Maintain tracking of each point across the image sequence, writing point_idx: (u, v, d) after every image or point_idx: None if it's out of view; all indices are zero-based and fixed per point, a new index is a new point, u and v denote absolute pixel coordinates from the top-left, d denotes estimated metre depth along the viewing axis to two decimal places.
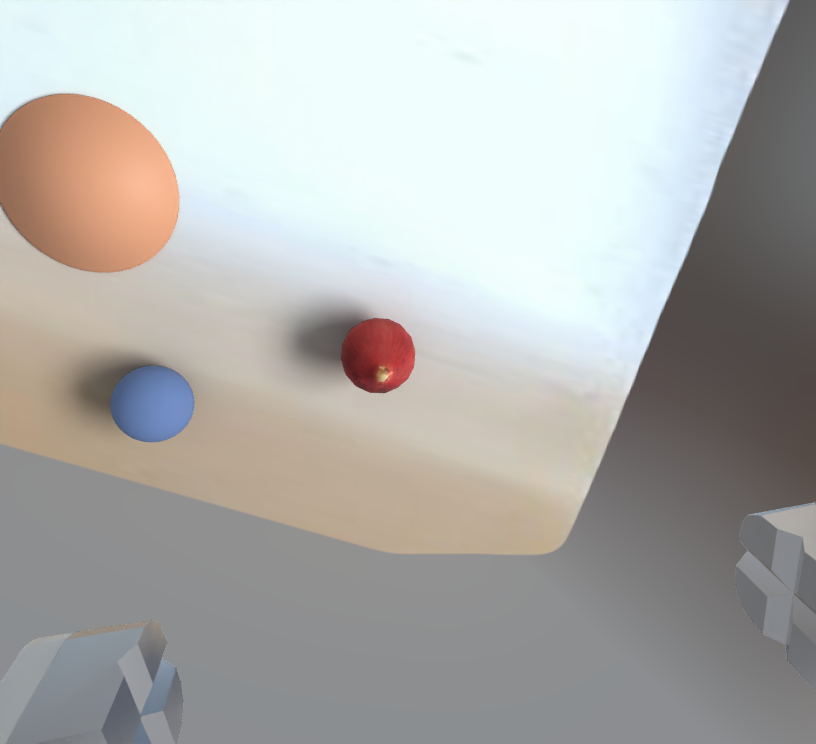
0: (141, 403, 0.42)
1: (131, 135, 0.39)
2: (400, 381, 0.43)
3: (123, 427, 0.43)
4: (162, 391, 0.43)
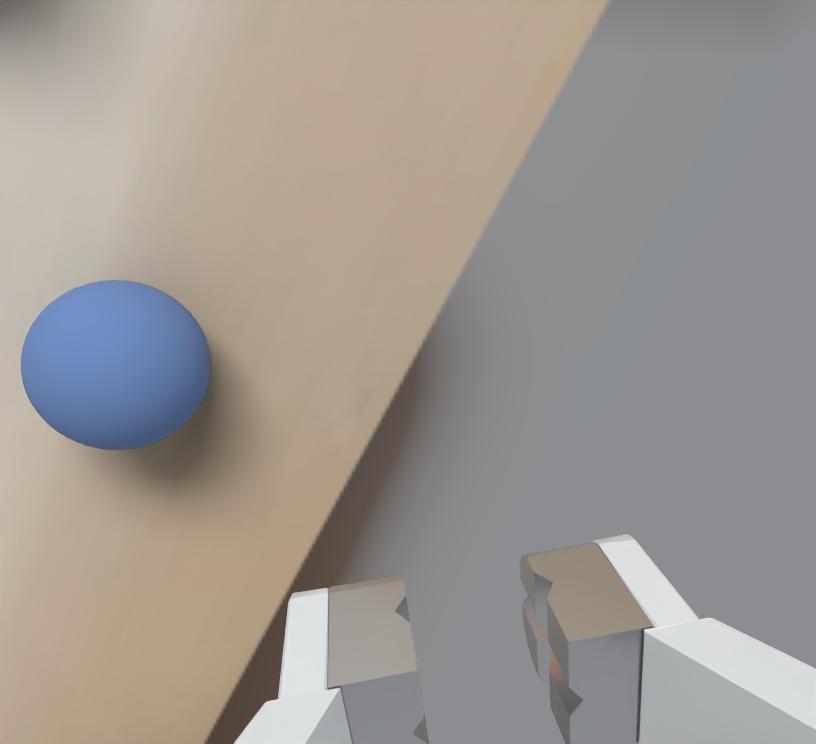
0: (43, 391, 0.18)
1: None
2: None
3: (122, 436, 0.19)
4: (31, 342, 0.18)
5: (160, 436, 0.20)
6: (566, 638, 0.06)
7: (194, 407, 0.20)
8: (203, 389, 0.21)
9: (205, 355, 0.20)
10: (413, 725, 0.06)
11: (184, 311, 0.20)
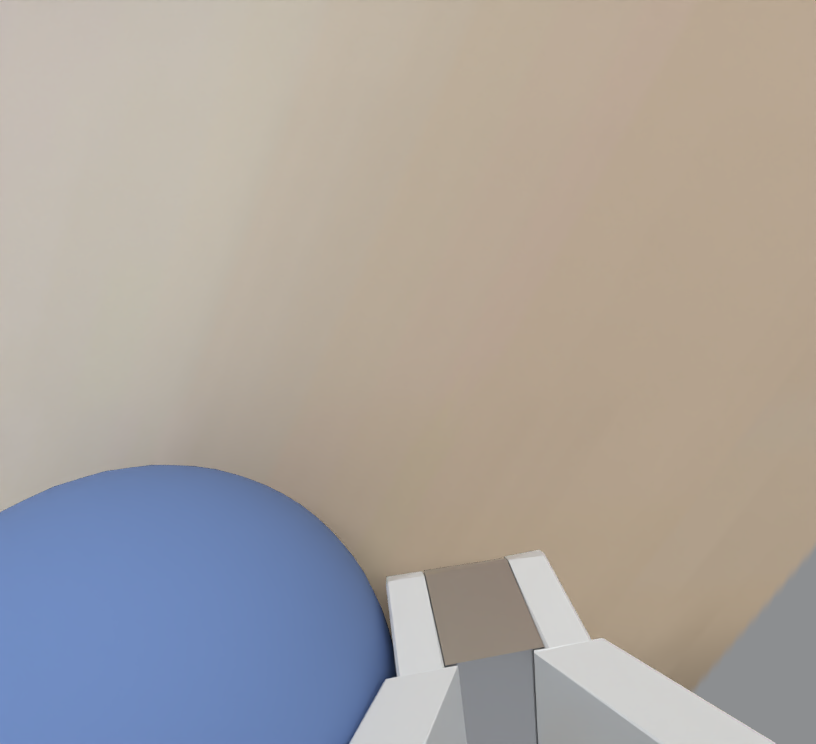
0: None
1: None
2: None
3: None
4: None
5: None
6: (455, 659, 0.06)
7: None
8: None
9: None
10: (522, 704, 0.06)
11: (342, 639, 0.06)
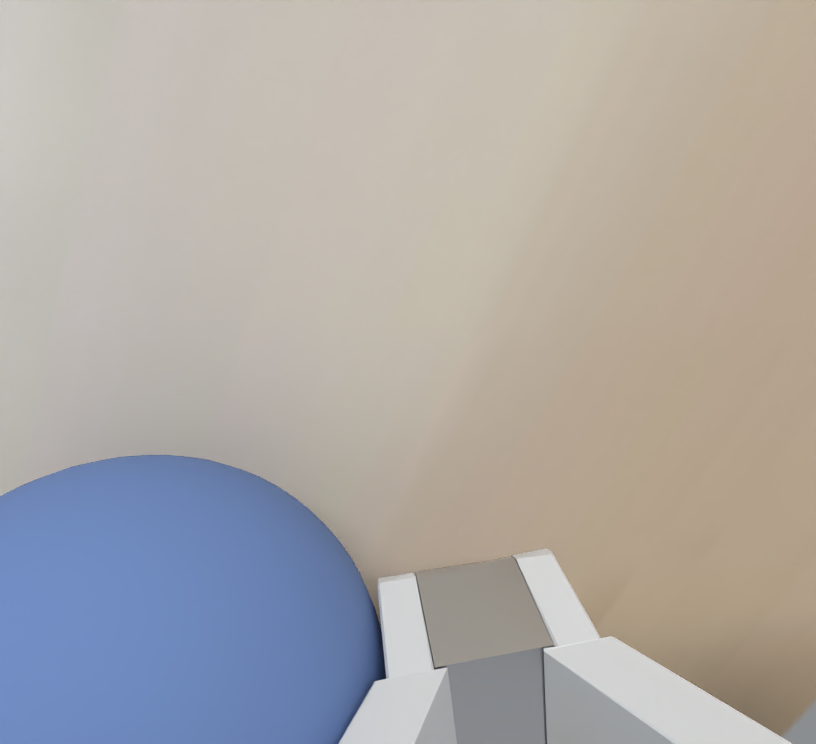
0: None
1: None
2: None
3: None
4: None
5: None
6: (465, 657, 0.06)
7: None
8: None
9: None
10: (512, 706, 0.06)
11: (320, 662, 0.06)
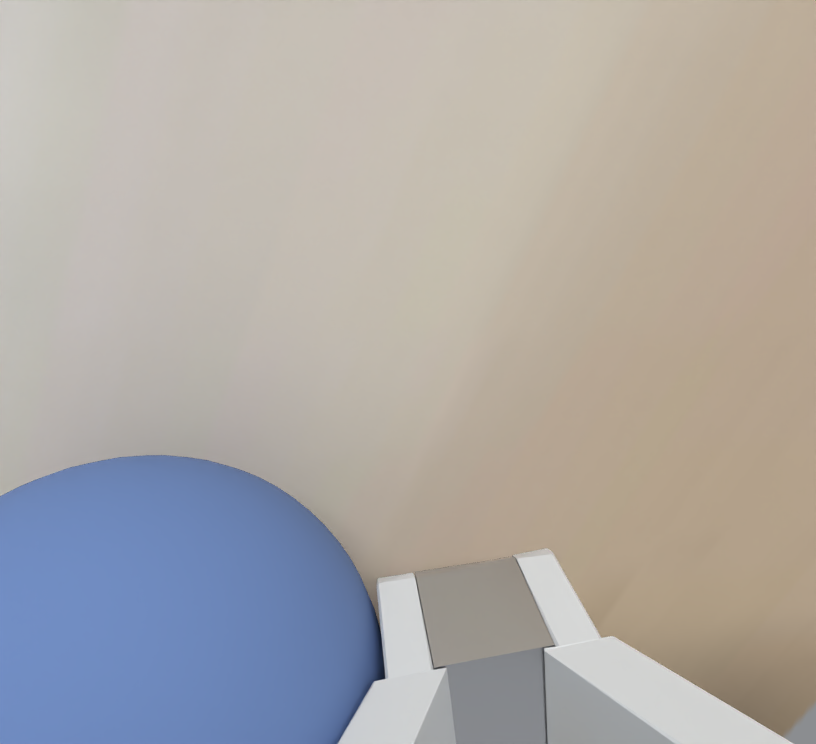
0: None
1: None
2: None
3: None
4: None
5: None
6: (465, 657, 0.06)
7: None
8: None
9: None
10: (512, 706, 0.06)
11: (320, 662, 0.06)
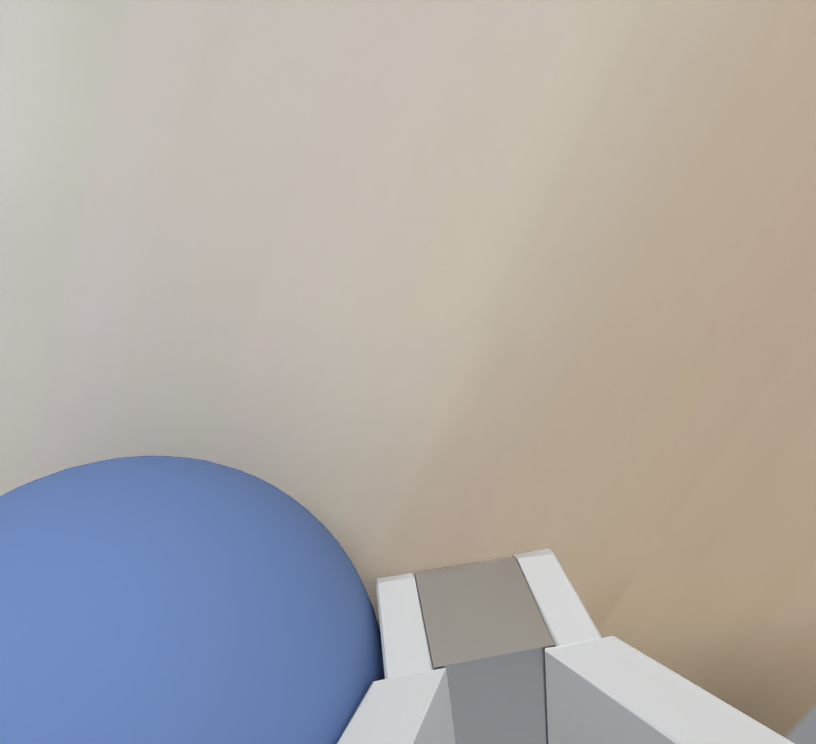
0: None
1: None
2: None
3: None
4: None
5: None
6: (466, 656, 0.06)
7: None
8: None
9: None
10: (511, 706, 0.06)
11: (320, 663, 0.06)
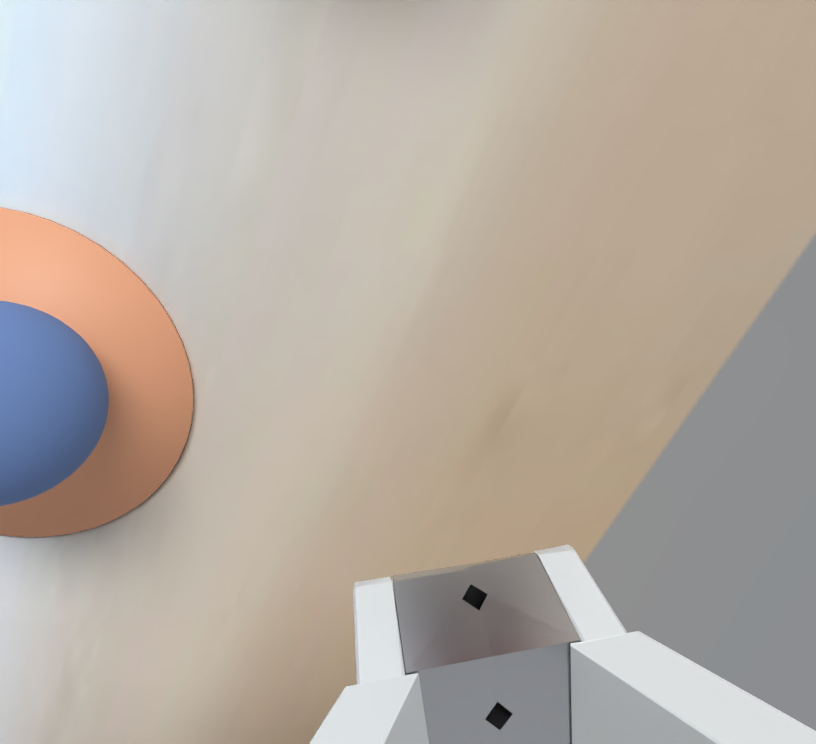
0: None
1: None
2: None
3: None
4: (80, 336, 0.18)
5: None
6: (492, 653, 0.06)
7: None
8: None
9: None
10: (485, 711, 0.06)
11: None
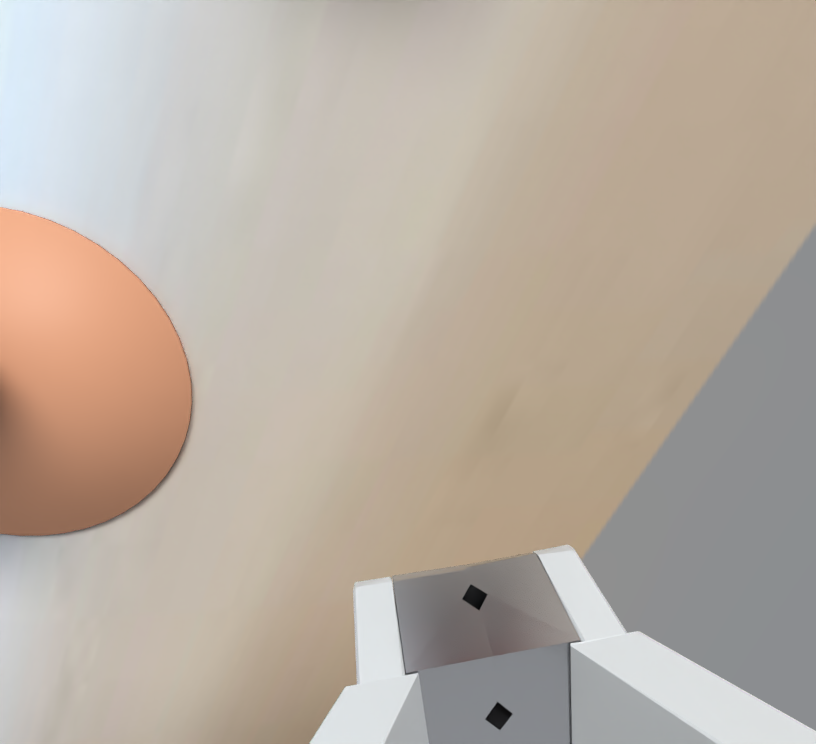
0: None
1: None
2: None
3: None
4: None
5: None
6: (493, 653, 0.06)
7: None
8: None
9: None
10: (485, 711, 0.06)
11: None
